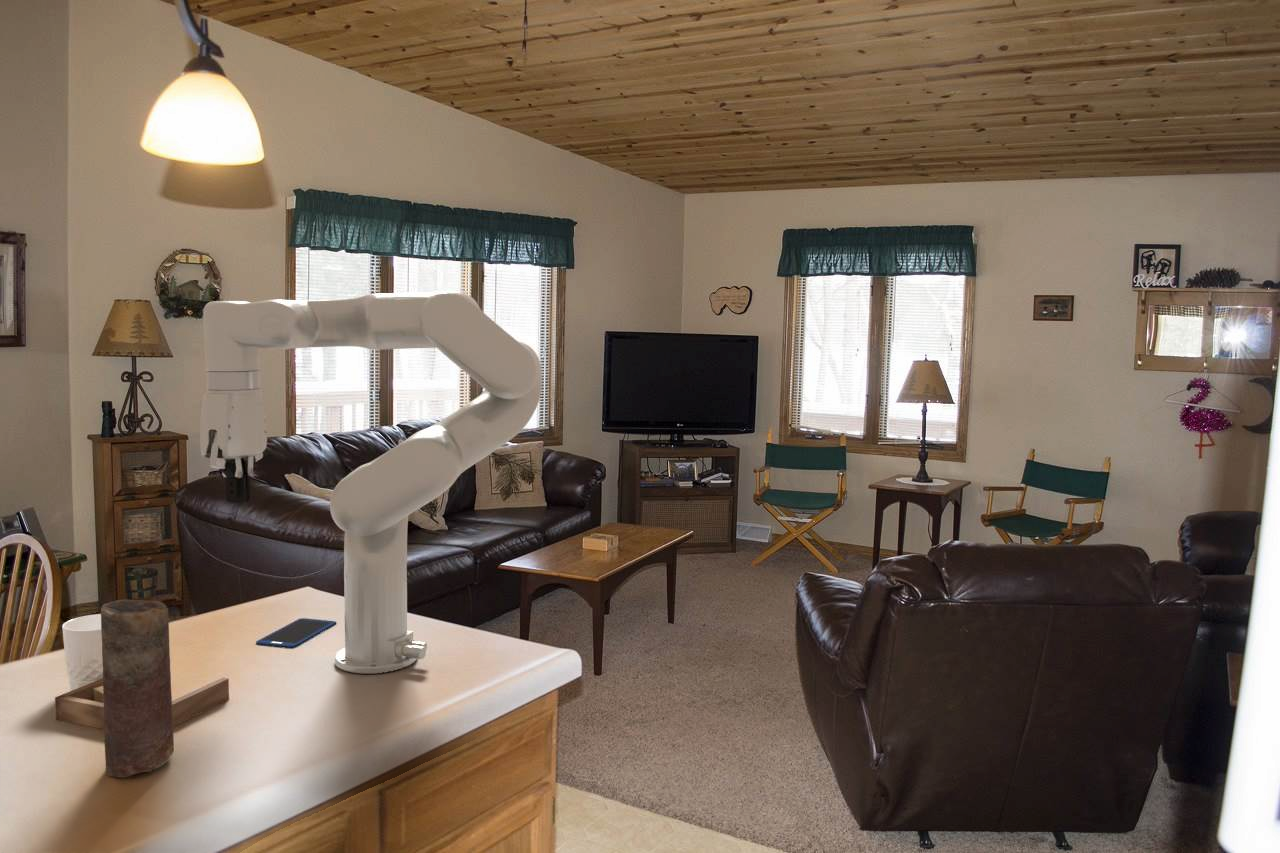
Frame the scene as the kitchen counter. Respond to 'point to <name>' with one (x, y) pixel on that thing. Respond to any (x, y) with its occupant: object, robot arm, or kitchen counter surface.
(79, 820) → the kitchen counter surface
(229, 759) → the kitchen counter surface
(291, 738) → the kitchen counter surface
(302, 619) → the cell phone
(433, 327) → the robot arm
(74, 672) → the white cup
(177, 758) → the kitchen counter surface
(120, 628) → the candle
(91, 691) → the corral
